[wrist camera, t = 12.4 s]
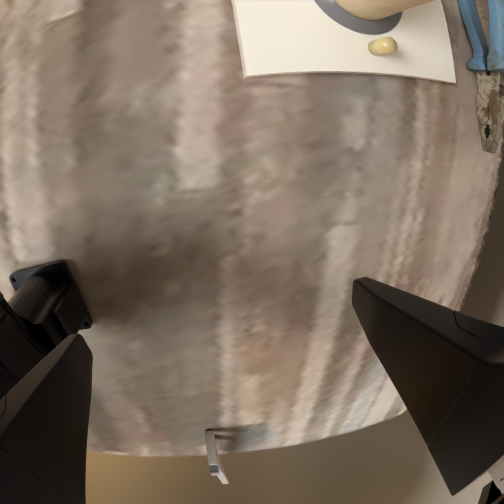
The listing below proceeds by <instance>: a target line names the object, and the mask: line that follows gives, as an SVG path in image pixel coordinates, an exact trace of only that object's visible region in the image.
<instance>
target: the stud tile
mask: <svg viewBox="0 0 504 504" xmlns="http://www.w3.org/2000/svg"><path fill="white" fill-rule="evenodd" d="M232 6H233V11H234V18H235V24H236V30H237V36H238V42H239V48H240V55H241V61H242V67H243V74H244V78H252V77H262V76H273V75H287V74H309V73H356V74H376V75H390V76H401V77H410V78H418V79H426V80H433V81H439V82H445V83H456V79H455V70H454V63H453V56H452V49H451V44H450V38H449V33H448V28H447V23H446V19H445V14H444V10H443V6H442V2H441V0H435V1H432V2H429V3H425V4H422V5H419V6H416V7H413V8H410V9H407V10H404V11H401V12H398V13H396V14H393V15H390V16H388V17H385V18H382V19H378V20H365V19H361V18H358V17H356V16H353V15H351V14H350V13H348V12H346V11H345V10H344V9H342V8H341V7H340V6H339V5H338V4H337V3H336V2H335V1H334V0H232Z"/></svg>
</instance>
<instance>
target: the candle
mask: <svg viewBox="0 0 504 504" xmlns="http://www.w3.org/2000/svg"><path fill="white" fill-rule="evenodd" d="M334 1H335V2H336V3H337V4H338V5H339V6H340V7H341V8H342V9H344V10H345V11H346V12H348V13H350V14H351V15H353V16H356V17H358V18H361V19H365V20H378V19H382V18H385V17H388V16H390V15H393V14H396V13H398V12H401V11H404V10H407V9H410V8H413V7H416V6H419V5H422V4H425V3H429V2H432V1H435V0H334Z"/></svg>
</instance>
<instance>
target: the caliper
mask: <svg viewBox="0 0 504 504" xmlns="http://www.w3.org/2000/svg"><path fill="white" fill-rule="evenodd" d="M205 438H206V448H207V455H208V462H209V466H210V472H211V474H212V475H217V476H218V477H219V479H220V480H221V482H222V483H223V484H228V483H229V481H228V477H227V475H226V472H225V470H224V468H223V466H222V464H221V461H220V457H219V455H218V452H217V446H216V440H215V435H214V434H213V430H208V431H205Z"/></svg>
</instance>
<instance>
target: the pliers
mask: <svg viewBox="0 0 504 504" xmlns="http://www.w3.org/2000/svg"><path fill="white" fill-rule="evenodd" d="M487 1H488V11H489V50H488V45H487V41H486V38H485V34H484V31H483V28H482V24H481V21H480V17H479V14H478V10H477V6H476V1H475V0H458V4H459V8H460V12H461V15H462V19H463V21H464V24H465V27H466V30H467V34H468V36H469V40H470V43H471V46H472V50H473V57H472V58H471V59H470V60H469V61H468V62H467V67H468V69H469V70H470V71H473V72H475V73H477V84H478V85H479V88H478V91H479V94H477V118H478V123H479V128H480V134H481V141H482V147H483V150H484V151H486V152H490V153H495V151H496V148H497V145H498V142H499V139H500V136H501V133H502V130H503V127H504V0H487Z"/></svg>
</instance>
